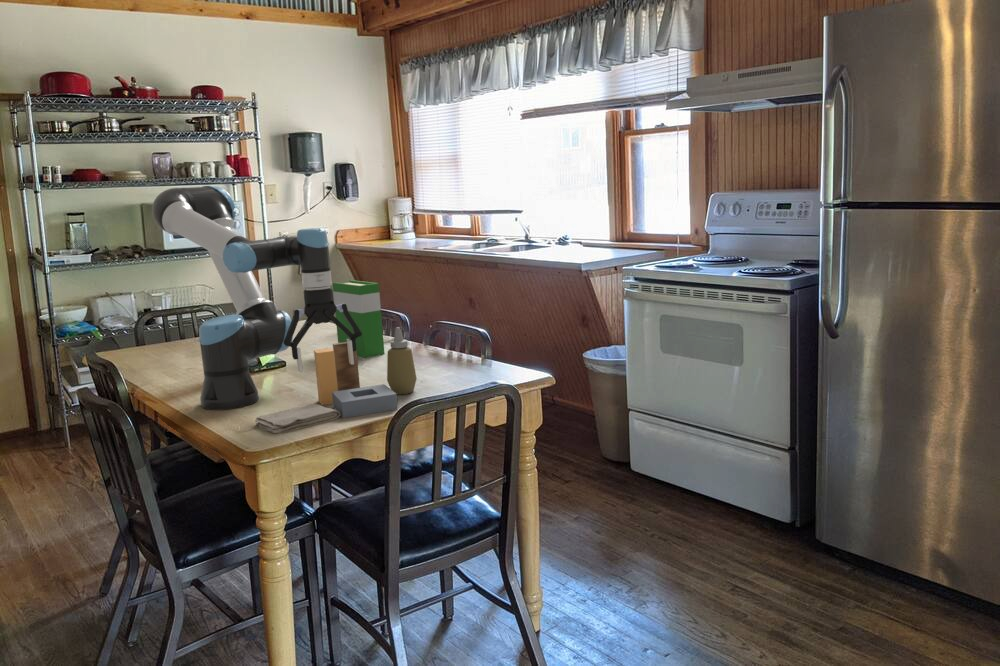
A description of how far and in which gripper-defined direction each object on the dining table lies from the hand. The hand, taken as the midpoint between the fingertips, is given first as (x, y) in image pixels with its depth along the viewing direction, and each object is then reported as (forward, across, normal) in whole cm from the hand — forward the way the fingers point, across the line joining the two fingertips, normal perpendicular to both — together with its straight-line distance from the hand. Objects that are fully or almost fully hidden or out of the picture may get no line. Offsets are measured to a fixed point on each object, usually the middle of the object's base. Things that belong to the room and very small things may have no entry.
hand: (326, 367), depth 223 cm
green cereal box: (+9, +23, +60) cm, 64 cm away
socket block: (+10, +7, -12) cm, 16 cm away
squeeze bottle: (+10, +20, -2) cm, 22 cm away
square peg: (+9, 0, 0) cm, 9 cm away
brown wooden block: (+9, +7, +8) cm, 14 cm away
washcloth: (+10, -11, -14) cm, 21 cm away
